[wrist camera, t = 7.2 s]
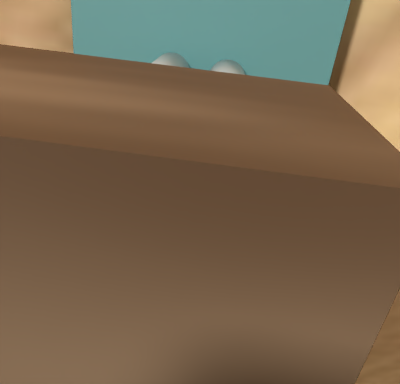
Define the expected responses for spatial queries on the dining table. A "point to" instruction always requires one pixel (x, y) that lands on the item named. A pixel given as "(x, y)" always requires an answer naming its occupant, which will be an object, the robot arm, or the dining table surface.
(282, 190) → the shelf board
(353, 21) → the dining table surface
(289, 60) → the peg stand
